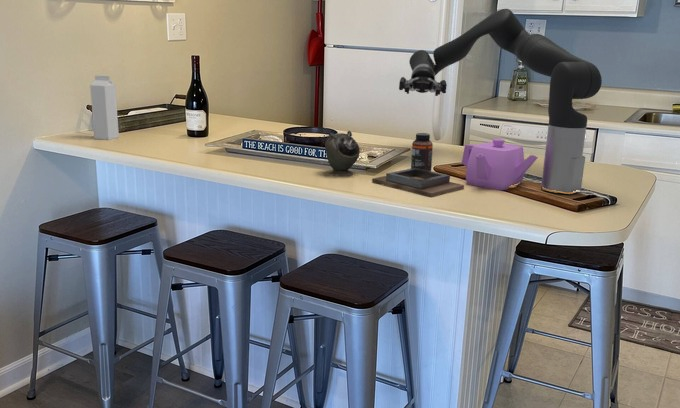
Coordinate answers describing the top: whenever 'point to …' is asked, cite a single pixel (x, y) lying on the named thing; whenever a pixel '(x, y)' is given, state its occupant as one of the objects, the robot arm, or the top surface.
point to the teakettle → (495, 164)
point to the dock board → (427, 192)
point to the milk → (104, 108)
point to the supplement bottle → (422, 152)
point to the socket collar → (428, 181)
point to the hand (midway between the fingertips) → (422, 91)
